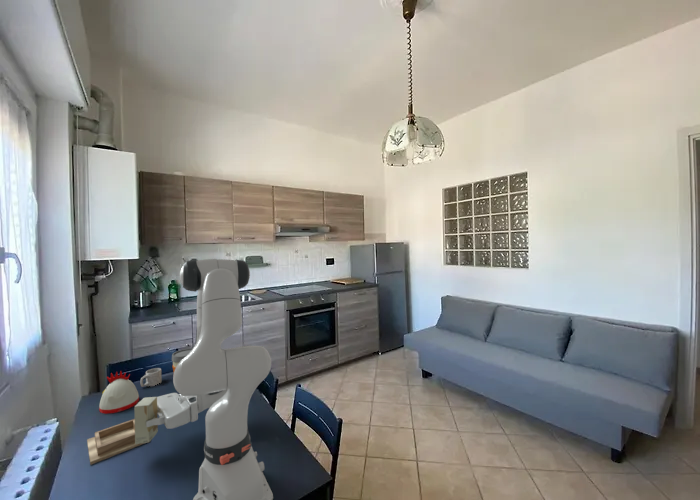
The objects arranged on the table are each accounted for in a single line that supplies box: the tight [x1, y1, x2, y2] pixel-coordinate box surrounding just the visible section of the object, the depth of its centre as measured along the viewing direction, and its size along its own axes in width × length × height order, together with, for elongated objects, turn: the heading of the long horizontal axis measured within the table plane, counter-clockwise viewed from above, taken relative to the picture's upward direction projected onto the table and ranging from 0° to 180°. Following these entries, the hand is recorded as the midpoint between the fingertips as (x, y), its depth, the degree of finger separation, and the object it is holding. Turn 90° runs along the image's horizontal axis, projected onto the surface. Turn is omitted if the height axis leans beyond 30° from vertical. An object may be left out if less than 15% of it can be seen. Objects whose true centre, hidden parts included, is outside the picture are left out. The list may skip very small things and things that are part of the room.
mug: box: [139, 367, 163, 388], centre depth 152 cm, size 10×7×7 cm
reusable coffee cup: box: [171, 348, 193, 373], centre depth 155 cm, size 13×13×15 cm
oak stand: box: [86, 418, 146, 466], centre depth 107 cm, size 16×16×4 cm
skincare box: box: [133, 396, 159, 444], centre depth 99 cm, size 6×4×12 cm
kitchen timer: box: [98, 370, 140, 415], centre depth 133 cm, size 14×14×15 cm
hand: (143, 418), depth 99 cm, fingers closed on skincare box, 7 cm apart
